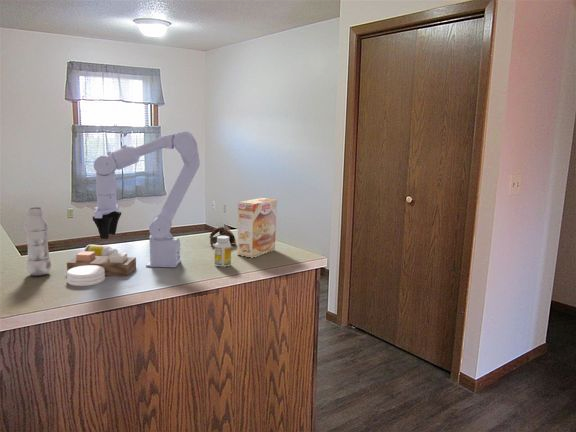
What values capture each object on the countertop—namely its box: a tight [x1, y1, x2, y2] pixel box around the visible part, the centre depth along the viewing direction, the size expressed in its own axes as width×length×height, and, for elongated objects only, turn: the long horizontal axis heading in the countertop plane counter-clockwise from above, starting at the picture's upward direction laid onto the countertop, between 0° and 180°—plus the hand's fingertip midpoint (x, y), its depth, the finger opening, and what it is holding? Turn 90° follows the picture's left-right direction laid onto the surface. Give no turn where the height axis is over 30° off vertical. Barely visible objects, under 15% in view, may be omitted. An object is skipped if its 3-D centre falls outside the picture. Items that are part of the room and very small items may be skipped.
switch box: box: [66, 256, 137, 277], centre depth 142 cm, size 18×8×4 cm, turn 90°
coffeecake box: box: [237, 197, 278, 259], centre depth 167 cm, size 15×7×20 cm, turn 148°
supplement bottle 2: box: [213, 235, 232, 267], centre depth 152 cm, size 5×5×10 cm
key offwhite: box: [109, 251, 128, 263], centre depth 142 cm, size 4×4×3 cm
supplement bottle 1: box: [83, 243, 119, 257], centre depth 151 cm, size 5×5×10 cm
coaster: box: [66, 265, 106, 287], centre depth 133 cm, size 10×10×4 cm
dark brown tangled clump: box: [209, 226, 237, 247], centre depth 179 cm, size 12×10×8 cm
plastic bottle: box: [23, 206, 52, 276], centre depth 135 cm, size 6×7×20 cm
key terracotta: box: [75, 250, 95, 262], centre depth 142 cm, size 4×4×3 cm
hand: (108, 236), depth 147 cm, fingers open, 5 cm apart
